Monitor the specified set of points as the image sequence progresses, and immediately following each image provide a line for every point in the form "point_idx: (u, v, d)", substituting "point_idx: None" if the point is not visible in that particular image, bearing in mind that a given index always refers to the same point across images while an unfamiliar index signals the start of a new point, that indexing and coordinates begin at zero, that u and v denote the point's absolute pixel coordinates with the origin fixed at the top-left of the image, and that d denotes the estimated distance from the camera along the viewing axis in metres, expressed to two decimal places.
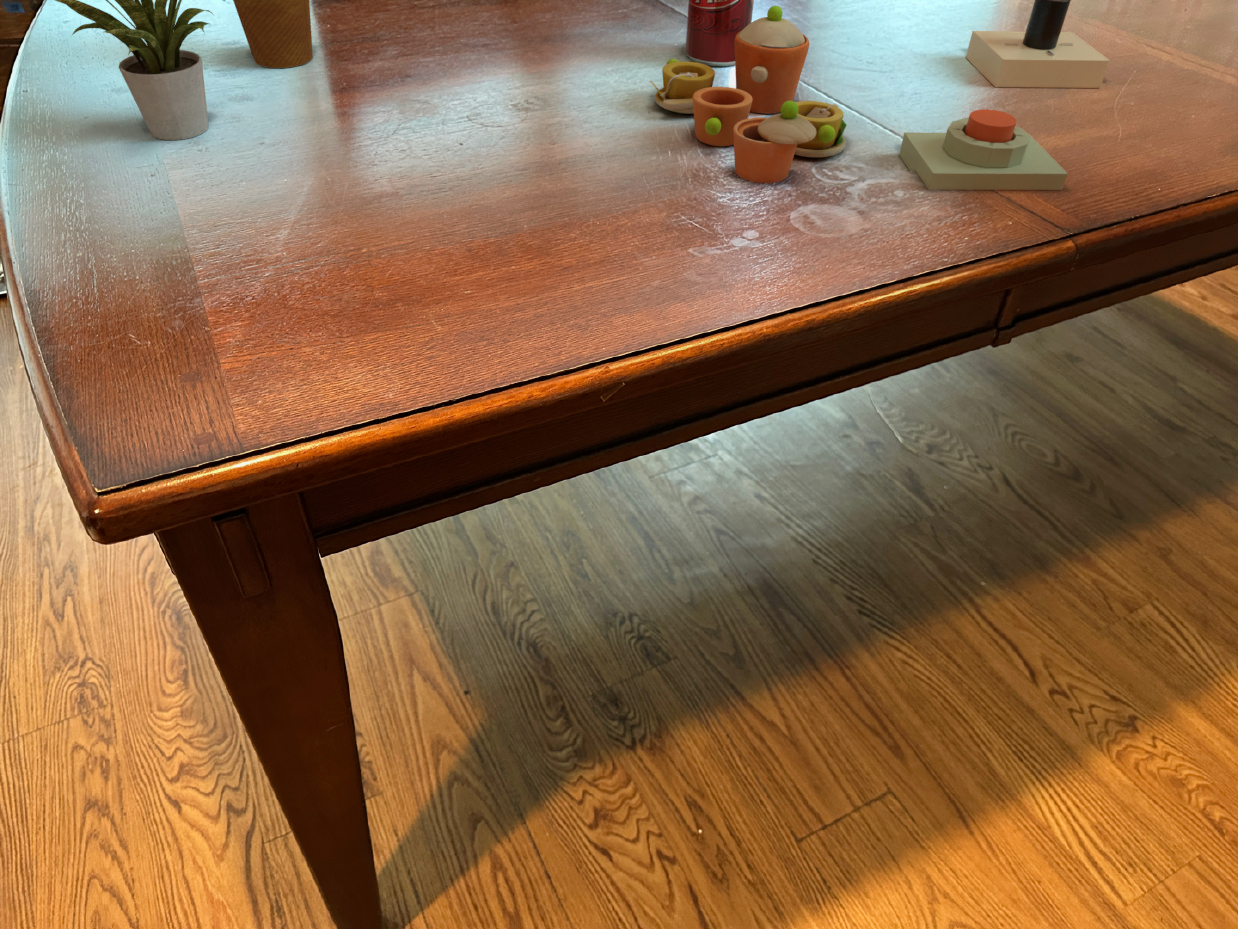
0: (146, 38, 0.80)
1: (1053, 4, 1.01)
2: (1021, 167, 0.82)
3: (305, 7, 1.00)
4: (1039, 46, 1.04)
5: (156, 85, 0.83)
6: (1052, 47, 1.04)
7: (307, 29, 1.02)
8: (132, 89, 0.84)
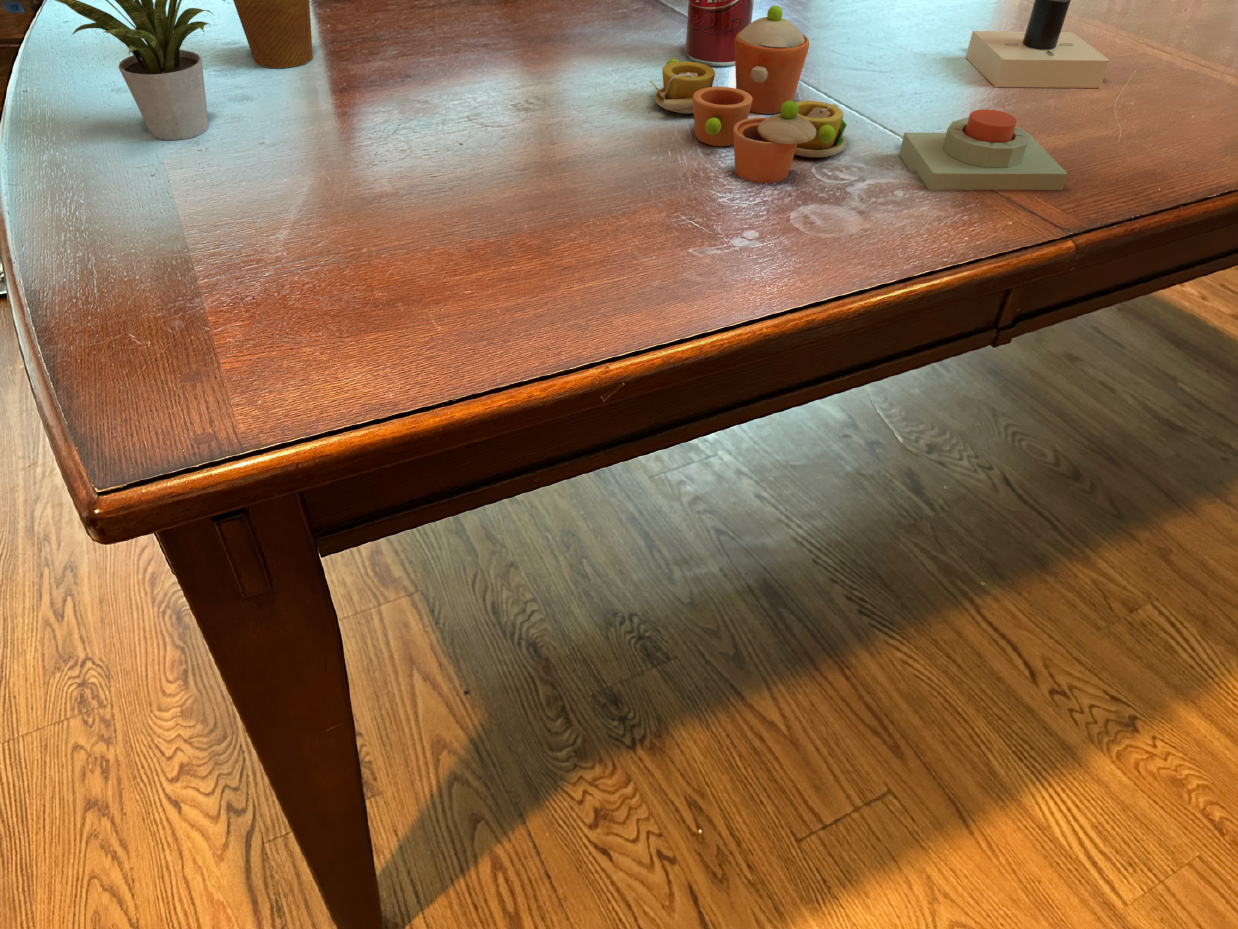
0: (146, 38, 0.80)
1: (1053, 4, 1.01)
2: (1021, 167, 0.82)
3: (305, 7, 1.00)
4: (1039, 46, 1.04)
5: (156, 85, 0.83)
6: (1052, 47, 1.04)
7: (307, 29, 1.02)
8: (132, 89, 0.84)
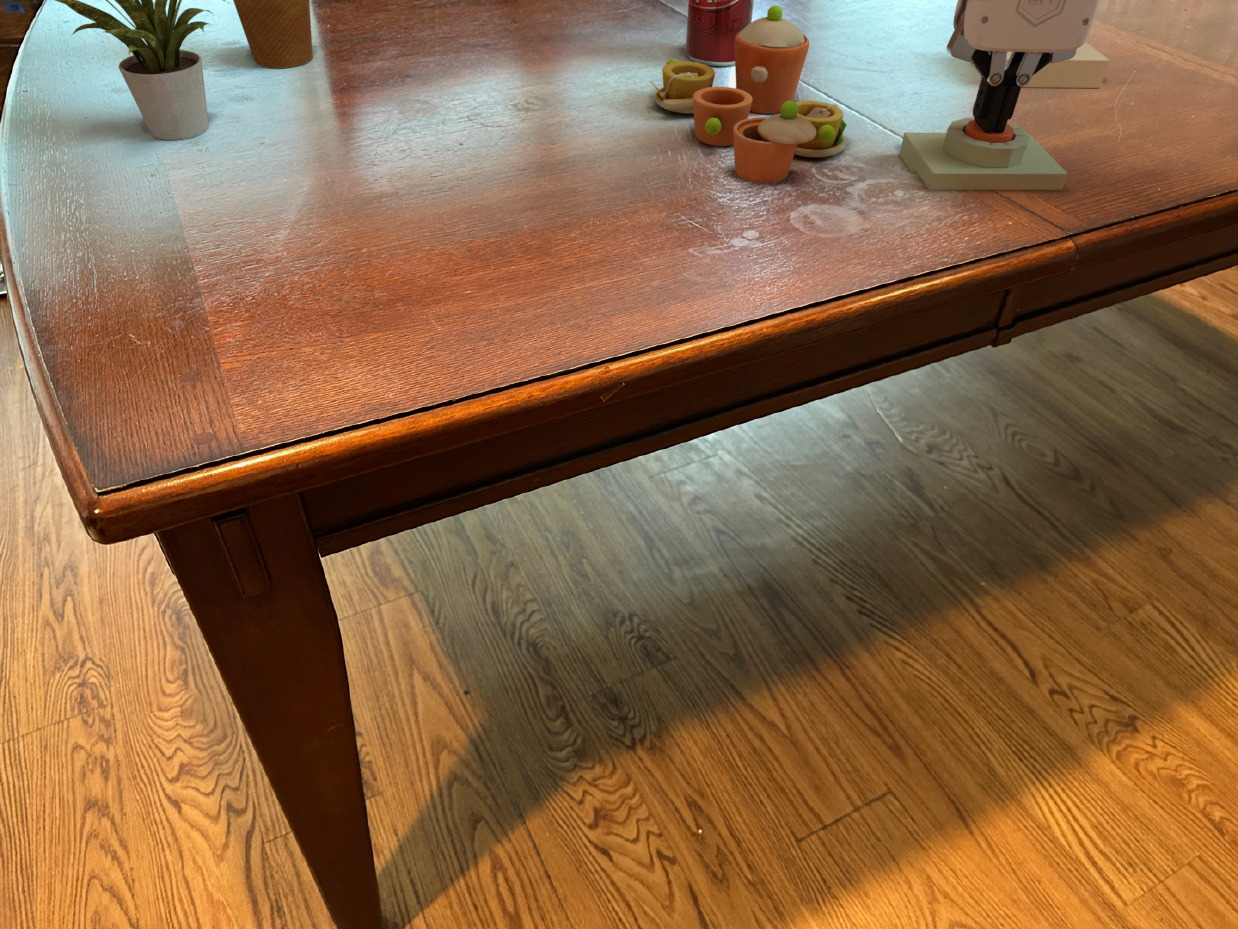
0: (146, 38, 0.80)
1: None
2: (1021, 167, 0.82)
3: (305, 7, 1.00)
4: None
5: (156, 85, 0.83)
6: None
7: (307, 29, 1.02)
8: (132, 89, 0.84)
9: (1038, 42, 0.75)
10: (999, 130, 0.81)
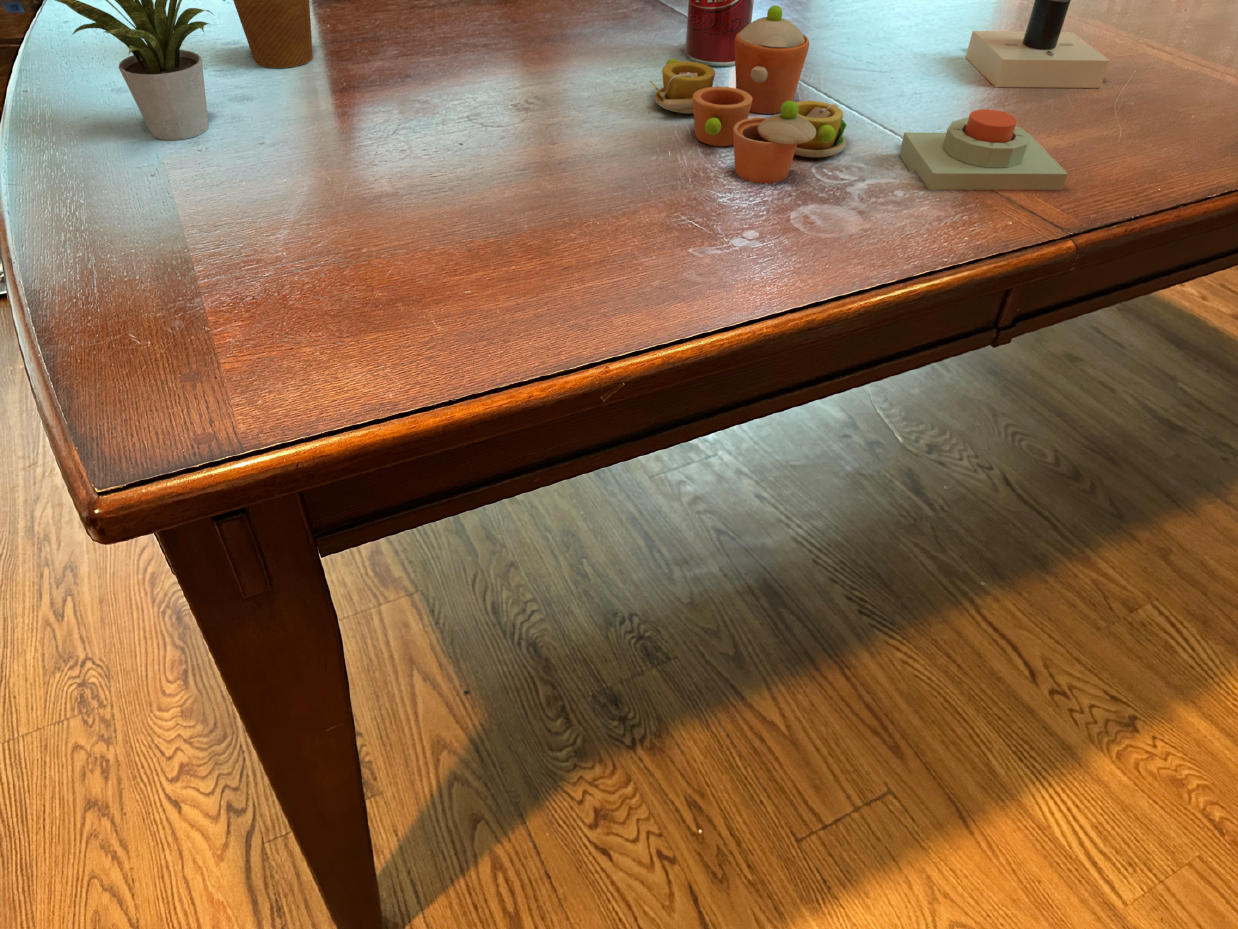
0: (146, 38, 0.80)
1: (1053, 4, 1.01)
2: (1021, 167, 0.82)
3: (305, 7, 1.00)
4: (1039, 46, 1.04)
5: (156, 85, 0.83)
6: (1052, 47, 1.04)
7: (307, 29, 1.02)
8: (132, 89, 0.84)
9: None
10: None
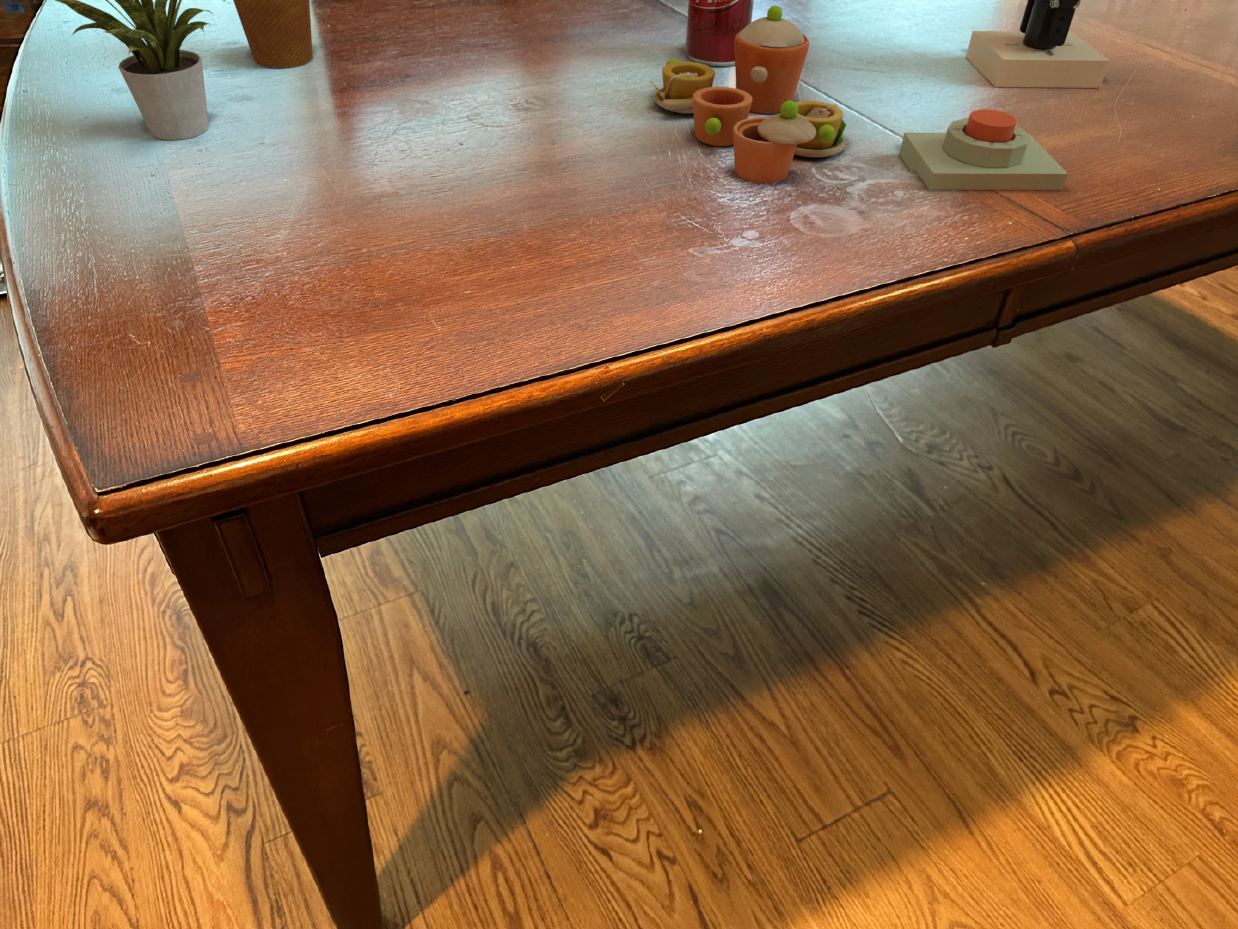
0: (146, 38, 0.80)
1: None
2: (1021, 167, 0.82)
3: (305, 7, 1.00)
4: (1039, 46, 1.04)
5: (156, 85, 0.83)
6: (1052, 47, 1.04)
7: (307, 29, 1.02)
8: (132, 89, 0.84)
9: None
10: None
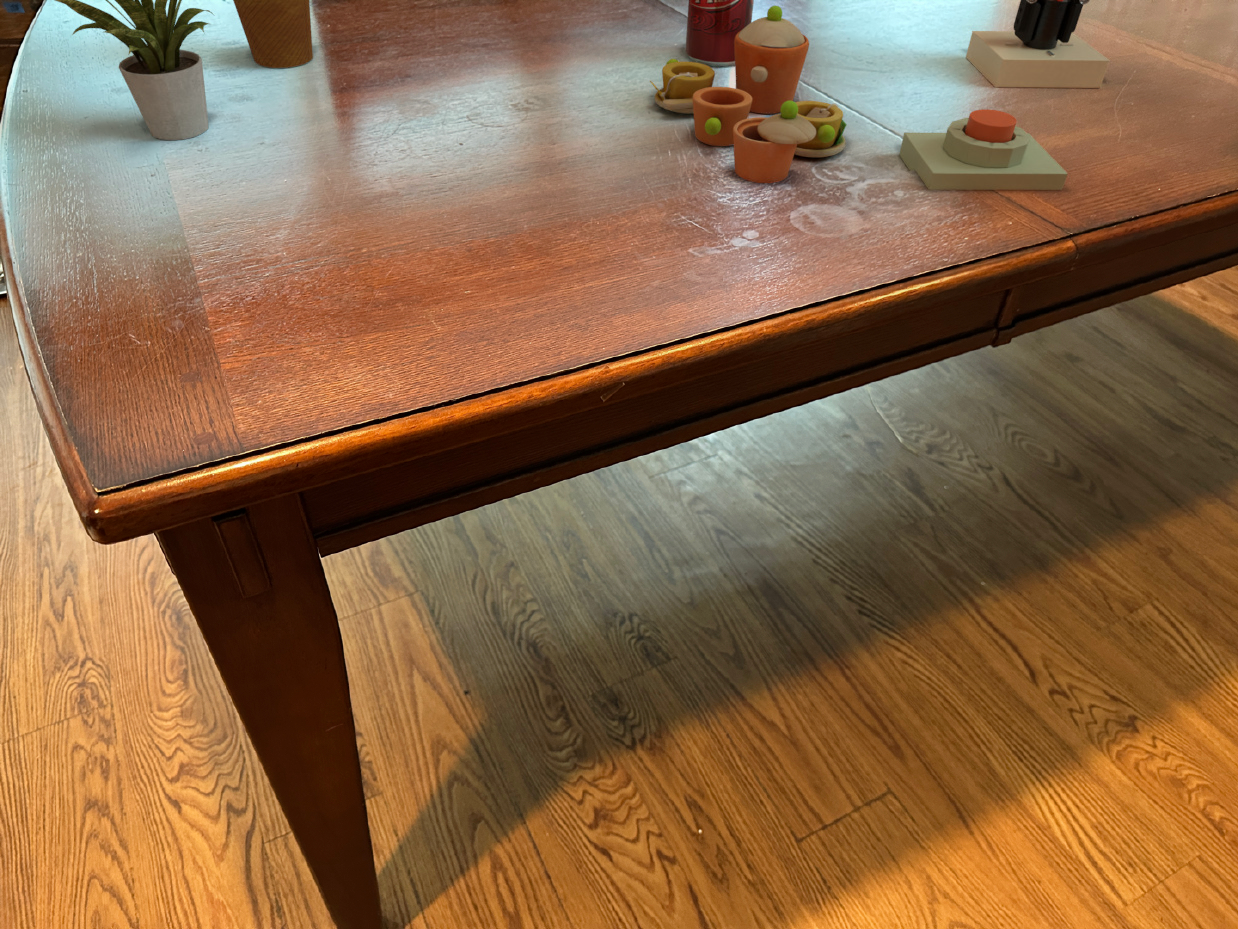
0: (146, 38, 0.80)
1: None
2: (1021, 167, 0.82)
3: (305, 7, 1.00)
4: (1056, 43, 1.05)
5: (156, 85, 0.83)
6: None
7: (307, 29, 1.02)
8: (132, 89, 0.84)
9: None
10: None
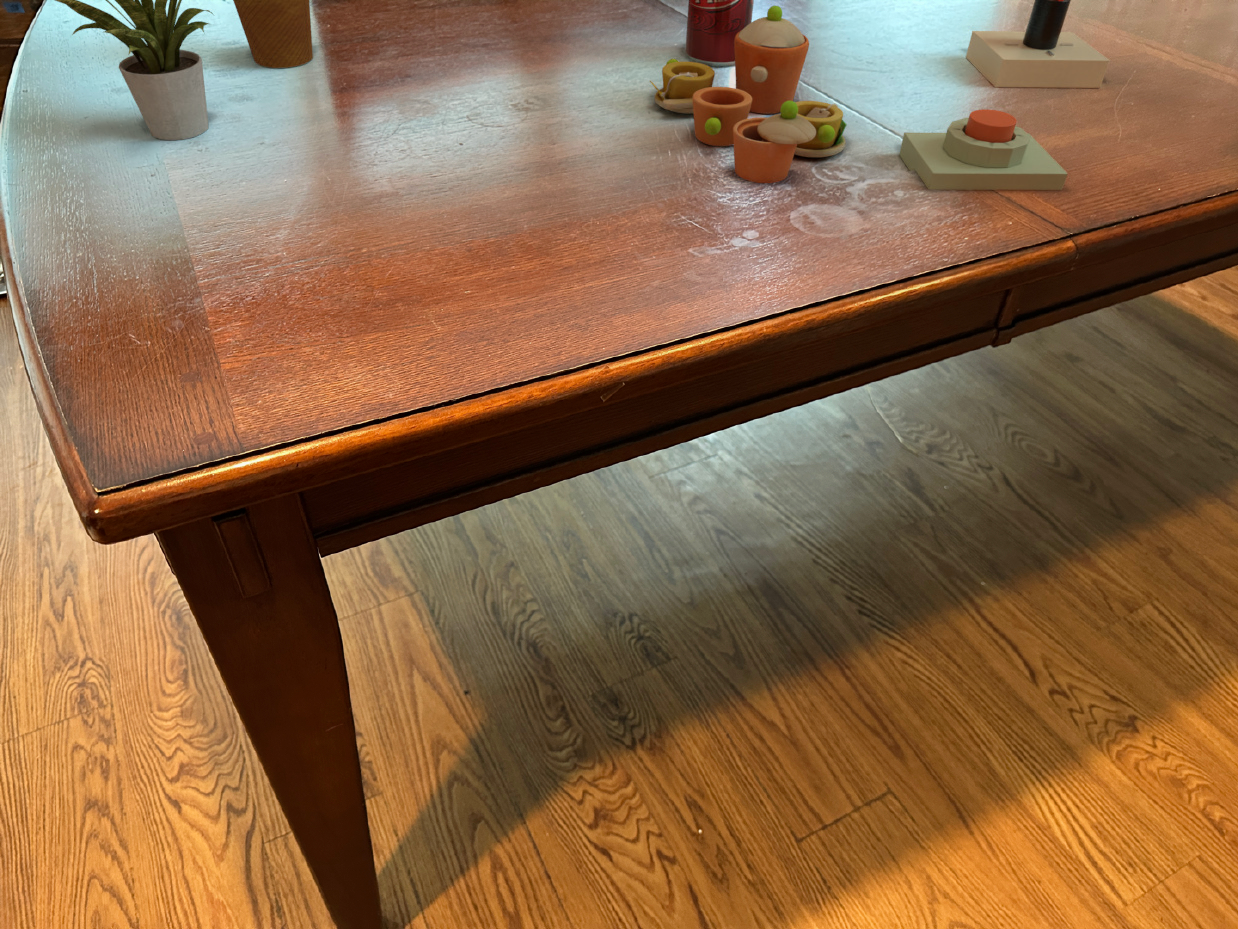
0: (146, 38, 0.80)
1: None
2: (1021, 167, 0.82)
3: (305, 7, 1.00)
4: (1056, 43, 1.05)
5: (156, 85, 0.83)
6: None
7: (307, 29, 1.02)
8: (132, 89, 0.84)
9: None
10: None
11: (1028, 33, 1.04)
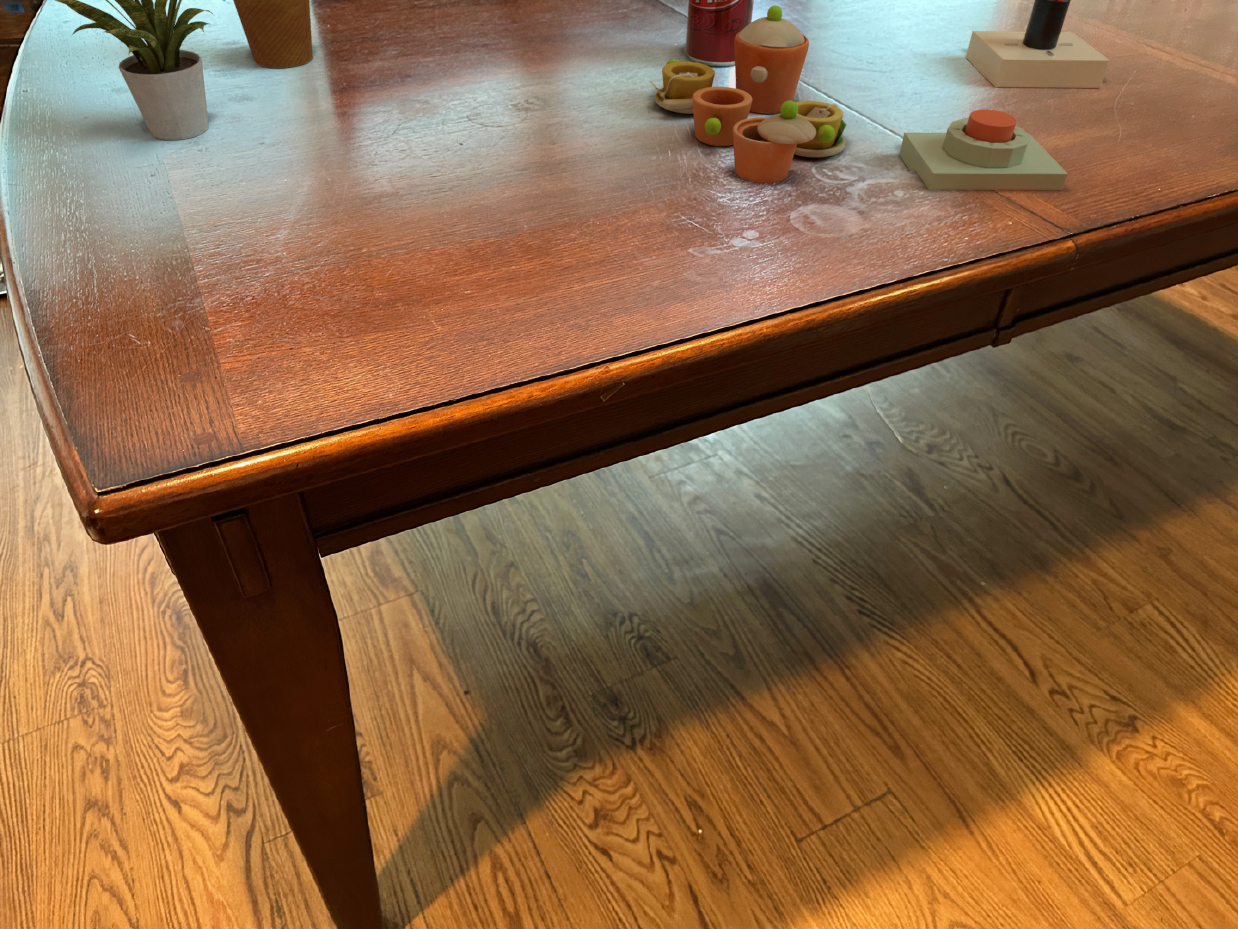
0: (146, 38, 0.80)
1: None
2: (1021, 167, 0.82)
3: (305, 7, 1.00)
4: (1056, 43, 1.05)
5: (156, 85, 0.83)
6: None
7: (307, 29, 1.02)
8: (132, 89, 0.84)
9: None
10: None
11: (1028, 33, 1.04)
